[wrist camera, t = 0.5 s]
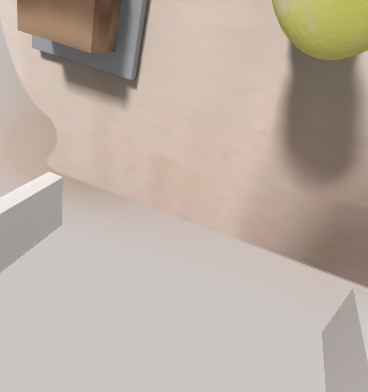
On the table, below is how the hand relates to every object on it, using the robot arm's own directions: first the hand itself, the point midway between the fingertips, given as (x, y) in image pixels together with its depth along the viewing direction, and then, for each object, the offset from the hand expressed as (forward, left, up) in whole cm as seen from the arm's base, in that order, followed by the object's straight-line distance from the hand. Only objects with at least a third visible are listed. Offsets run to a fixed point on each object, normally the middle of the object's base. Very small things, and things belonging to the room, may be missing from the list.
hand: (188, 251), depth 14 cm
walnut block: (-7, -23, -25) cm, 35 cm away
